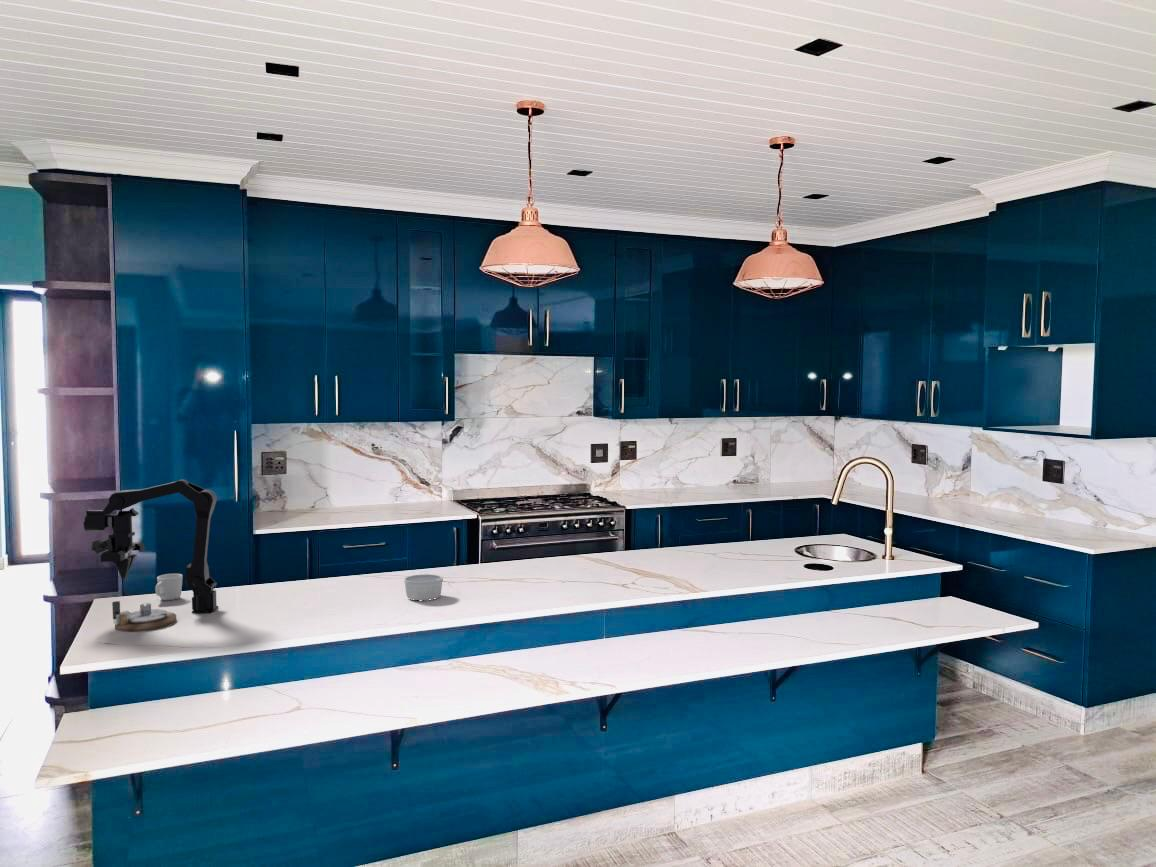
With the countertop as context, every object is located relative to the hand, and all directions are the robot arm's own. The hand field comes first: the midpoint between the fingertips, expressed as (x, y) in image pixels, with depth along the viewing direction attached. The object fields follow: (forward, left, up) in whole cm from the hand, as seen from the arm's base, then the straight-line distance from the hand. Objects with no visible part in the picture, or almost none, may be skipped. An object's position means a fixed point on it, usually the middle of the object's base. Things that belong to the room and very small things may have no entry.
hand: (123, 578), depth 270 cm
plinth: (-11, +11, -12) cm, 20 cm away
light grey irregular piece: (-10, +12, -10) cm, 19 cm away
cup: (-6, -19, -12) cm, 23 cm away
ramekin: (-94, -13, -12) cm, 96 cm away
